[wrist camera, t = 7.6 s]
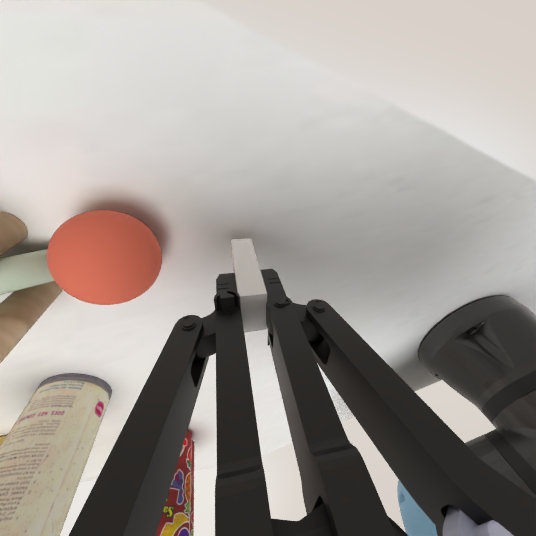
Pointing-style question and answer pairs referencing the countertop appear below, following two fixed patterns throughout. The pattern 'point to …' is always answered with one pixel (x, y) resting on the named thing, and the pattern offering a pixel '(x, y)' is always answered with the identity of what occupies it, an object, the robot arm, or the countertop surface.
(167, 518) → the smoothie
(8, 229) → the pin
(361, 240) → the countertop surface
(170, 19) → the countertop surface
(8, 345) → the pin
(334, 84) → the countertop surface
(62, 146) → the countertop surface
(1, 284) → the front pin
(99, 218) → the ball
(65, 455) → the aerosol can
